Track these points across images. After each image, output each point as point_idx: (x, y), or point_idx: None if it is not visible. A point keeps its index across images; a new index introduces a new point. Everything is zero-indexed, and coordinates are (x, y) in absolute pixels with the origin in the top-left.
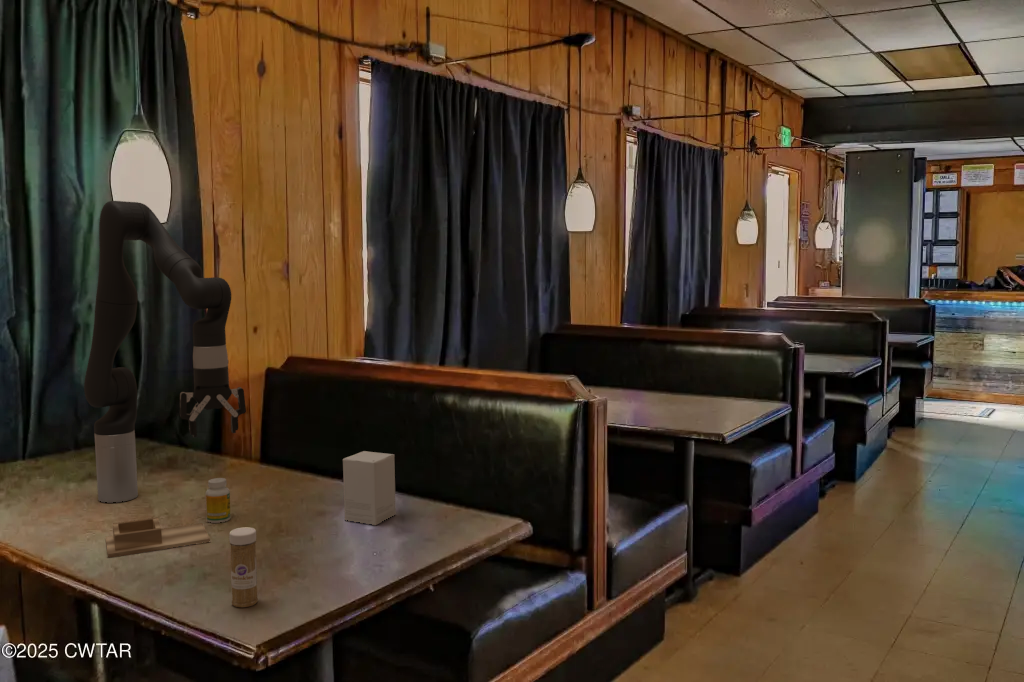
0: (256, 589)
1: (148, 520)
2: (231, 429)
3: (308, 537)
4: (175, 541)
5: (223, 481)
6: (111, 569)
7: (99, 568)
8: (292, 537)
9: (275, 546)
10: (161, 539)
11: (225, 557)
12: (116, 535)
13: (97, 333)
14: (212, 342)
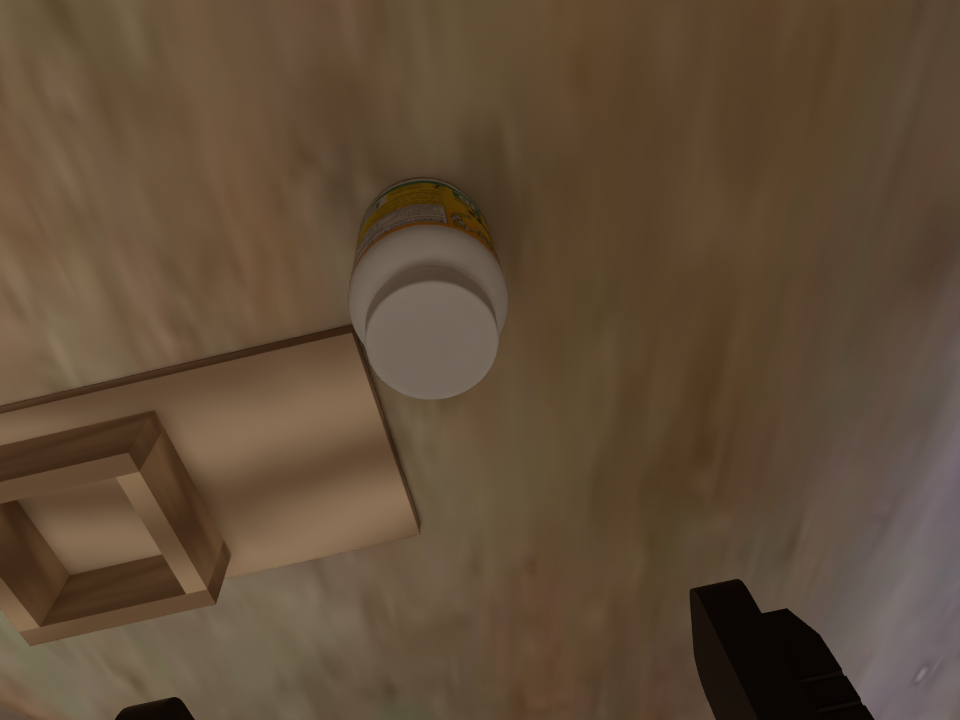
0: None
1: (96, 480)
2: (706, 637)
3: (783, 532)
4: (282, 541)
5: (481, 379)
6: (123, 688)
7: (74, 677)
8: (729, 523)
9: (655, 590)
10: (225, 567)
11: (488, 649)
12: (37, 643)
13: None
14: None
